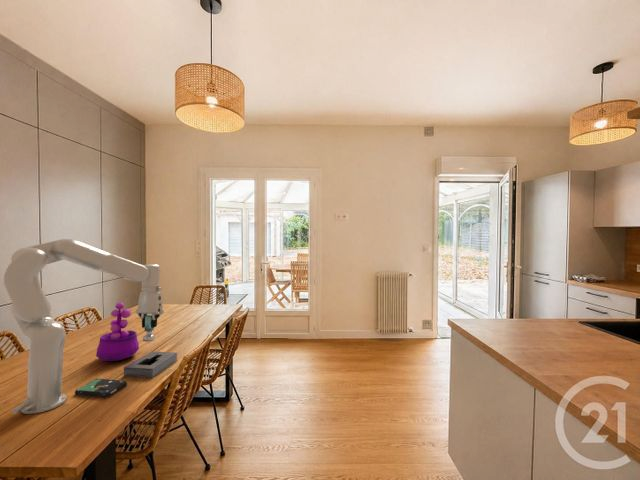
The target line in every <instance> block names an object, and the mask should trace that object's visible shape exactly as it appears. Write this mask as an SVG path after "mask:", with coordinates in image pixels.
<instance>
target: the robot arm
mask: <svg viewBox="0 0 640 480" xmlns="http://www.w3.org/2000/svg"><path fill="white" fill-rule="evenodd" d="M10 260H11V261H10V263H9V264H8V266H7V267H6V269H5V271H4V275H3V285H4V287H5V289H6V292H7V294H8V297H9V299H10V300H11V306H10V309H11V313H12V316H13V318H14V319H15V322H16V323H17V325H18V326H19V329H20V330H21V332H22V334H23V336H24V337H25V338H26V340H27V341H29V352H28V363H27V367H28V370H27V393H26V398H24V399H23V402H22V403H21V404H20V405H18V406H16V407H14V408H12V410H11V412H12V414H14V415H16V414H17V413H19V412H20V413H22V414H25V415H33V414H41V413H43V412H47V411H50V410H53V409H55V408H57V407H60V406H61V405H63V404H64V403H65V402H66V401H67V397H68V396H67V395H66V394H65V393H62V388H63V384H62V383H63V364H64V363H63V360H64V359H63V358H64V347H65V341H66V330H65V327H64V326H63V325H62V324H61V323H60V322H58V321H56V320H54V318H53V316H52V314H51V311H52V306H51V303H50V301H49V299H48V298H47V295H46V294H45V292H44V290H43V288H42V285H41V283H40V281H39V273H40V272H41V271H42V270H43V269H44V268H45V267H46V266H47V265H49V264H53V263H56V262H60V261H67V262H70V263H73V264H75V265H76V264H77V265H79V266H82V267H85V268H88V269H92V270H94V271H97V272H101V273H106V274H111V275H115V276H118V277H122V278H123V279H125V280H126V281H129V282H136V283H141V292H140V293H139V297H138V301H137V302H138V303H137V309H136V310H135V313H136V314H137V316H139V318H140V320H141V328H142V329H145V316H146V315H152V318H153V320H151V328H154V329H155V328H157V325H158V319H159V318H160V316H162V315H164V314H165V311H164V309H163V296H162V293H161V291H162V287H160V281H161V280H160V274H161V267H160V265H159V264H157V263H153V264H152V263H151V264H150V263H149V264H141V263H140V264H139V263H137V262H134V261H132V260H129V259H126V258H123V257H121V256H118V255H115V254H113V253H110V252H108V251H105V250H102V249H100V248H97V247H95V246H92V245H89V244H86V243H84V242H82V241H79V240H76V239H71V238H67V239H66V238H61V239H57V240H53V241H49V242H45V243H40V244H35V245H31V246H27V247H26V246H25V247H22V248H19V249H17V250H16V251H14V252H13V254H12V255H11V258H10Z"/></svg>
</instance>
